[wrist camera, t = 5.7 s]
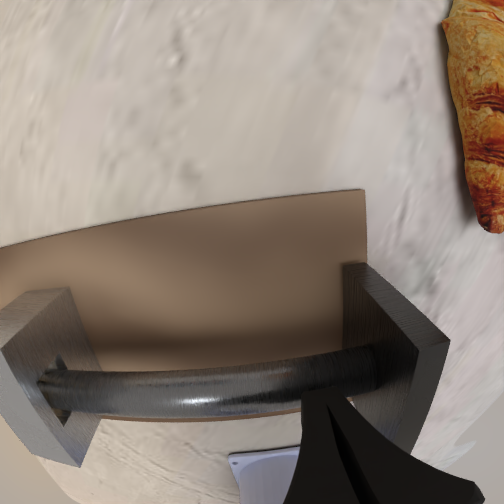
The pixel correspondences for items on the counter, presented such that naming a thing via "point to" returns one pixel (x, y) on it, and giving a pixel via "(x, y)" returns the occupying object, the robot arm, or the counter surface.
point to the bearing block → (34, 365)
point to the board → (204, 283)
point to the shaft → (290, 372)
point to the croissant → (480, 101)
